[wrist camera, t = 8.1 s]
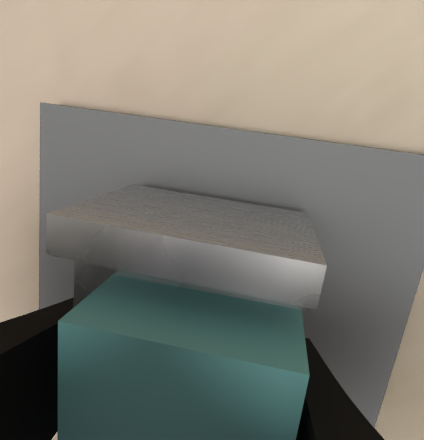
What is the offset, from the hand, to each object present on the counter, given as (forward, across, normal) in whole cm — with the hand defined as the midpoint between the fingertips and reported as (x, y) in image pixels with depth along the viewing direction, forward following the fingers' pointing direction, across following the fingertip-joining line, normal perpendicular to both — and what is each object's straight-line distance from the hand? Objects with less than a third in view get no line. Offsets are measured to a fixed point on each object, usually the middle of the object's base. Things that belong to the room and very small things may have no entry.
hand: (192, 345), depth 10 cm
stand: (+3, 0, 0) cm, 3 cm away
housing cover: (-2, 0, 0) cm, 2 cm away
